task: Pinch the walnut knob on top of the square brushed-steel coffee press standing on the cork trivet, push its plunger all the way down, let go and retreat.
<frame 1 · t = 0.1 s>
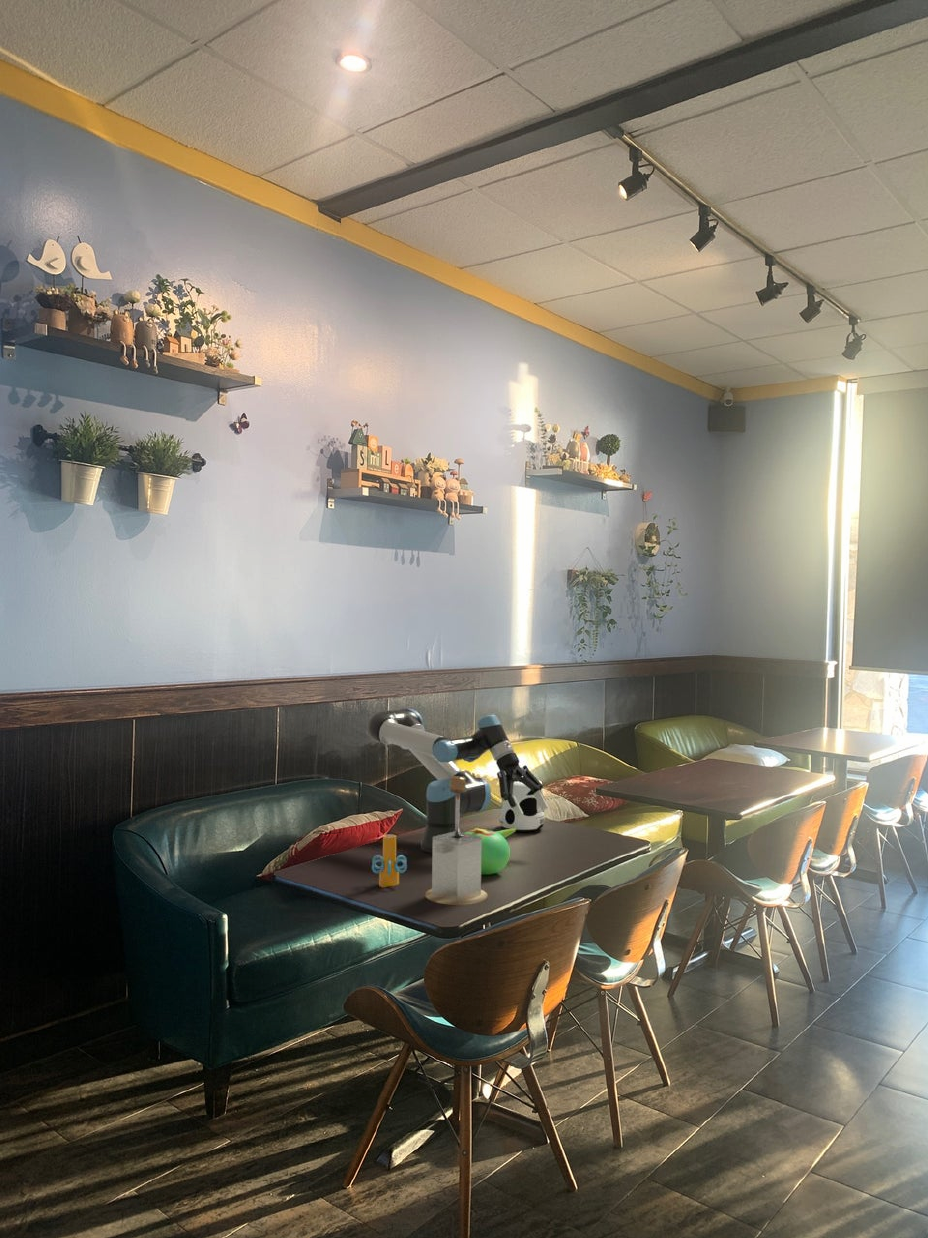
hand: (532, 812, 316), 15 cm above the table, tool tilted 35°, fingers open, 13 cm apart
cylinder: (389, 886, 283), on the table
milk container: (521, 830, 356), on the table
toy bird: (482, 873, 297), on the table
trivet: (456, 897, 272), on the table
press: (456, 894, 272), resting on trivet
plunger: (457, 811, 272), point 25 cm above the table, slide at 0.0 cm
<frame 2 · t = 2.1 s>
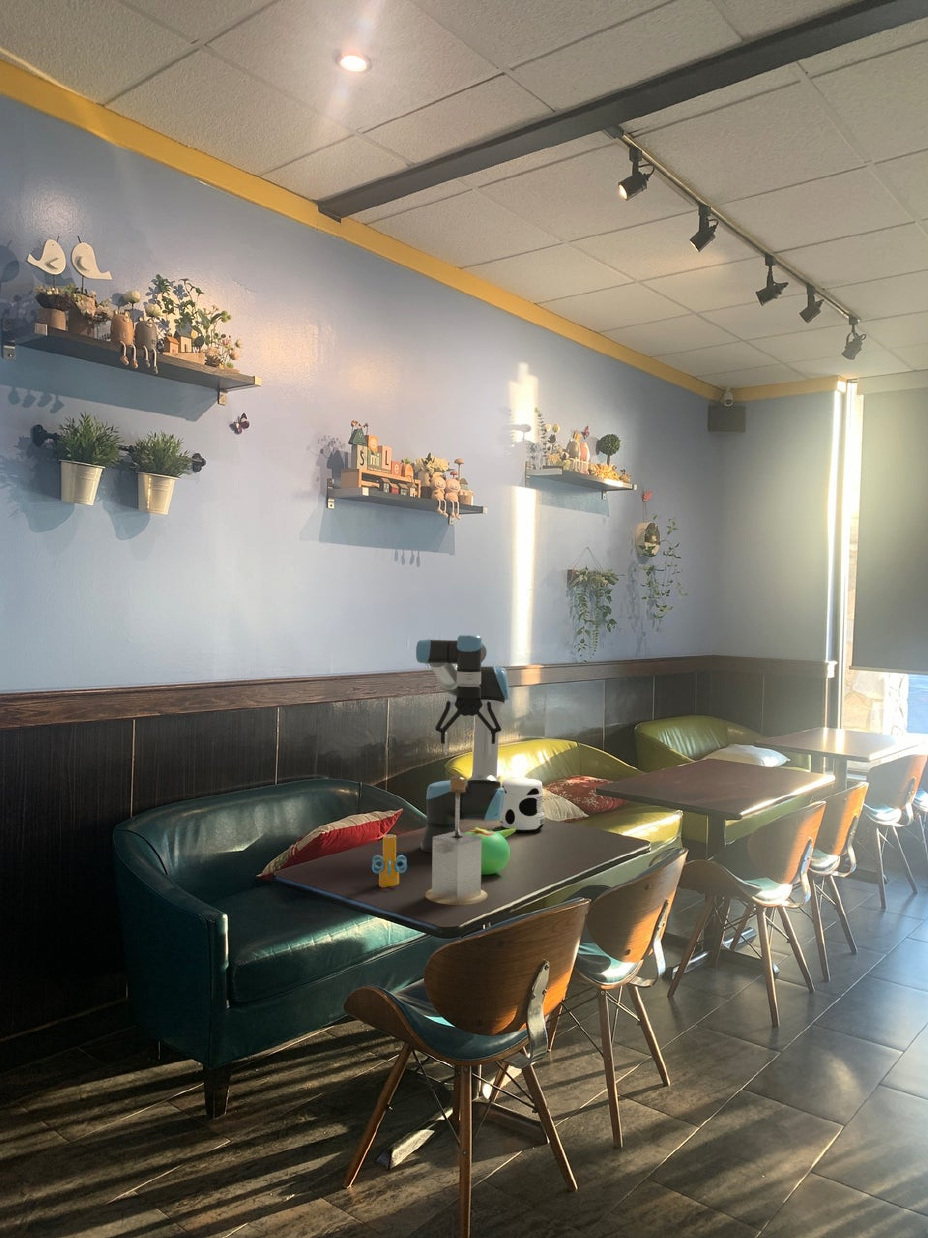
hand: (467, 754, 289), 39 cm above the table, tool pointing down, fingers open, 13 cm apart
nothing on the table moved.
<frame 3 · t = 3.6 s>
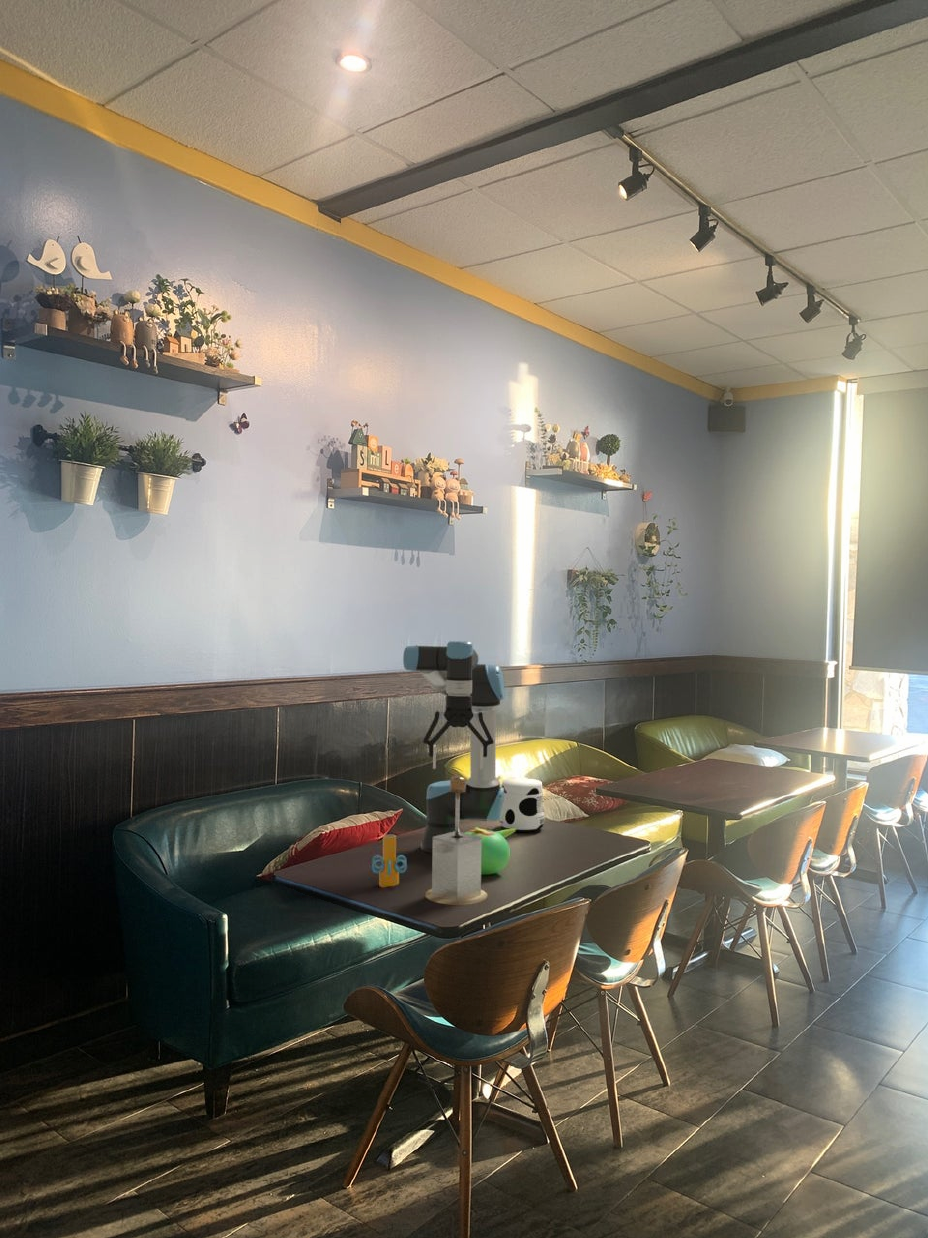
hand: (457, 768, 271), 38 cm above the table, tool pointing down, fingers open, 13 cm apart
nothing on the table moved.
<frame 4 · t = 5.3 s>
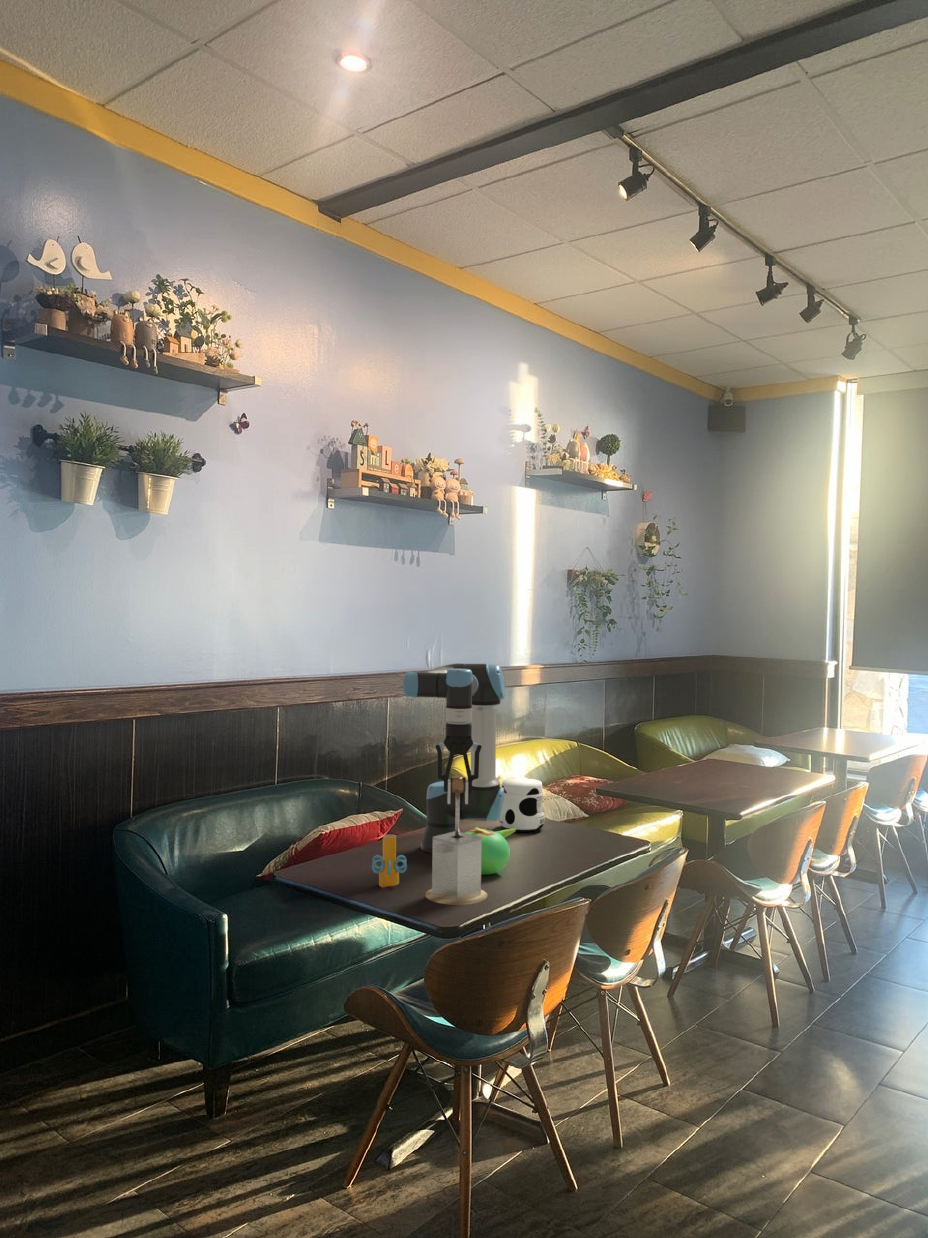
hand: (457, 802, 272), 27 cm above the table, tool pointing down, fingers closed on plunger, 4 cm apart
plunger: (457, 811, 272), point 25 cm above the table, slide at 0.0 cm, touching gripper
everything else where it was.
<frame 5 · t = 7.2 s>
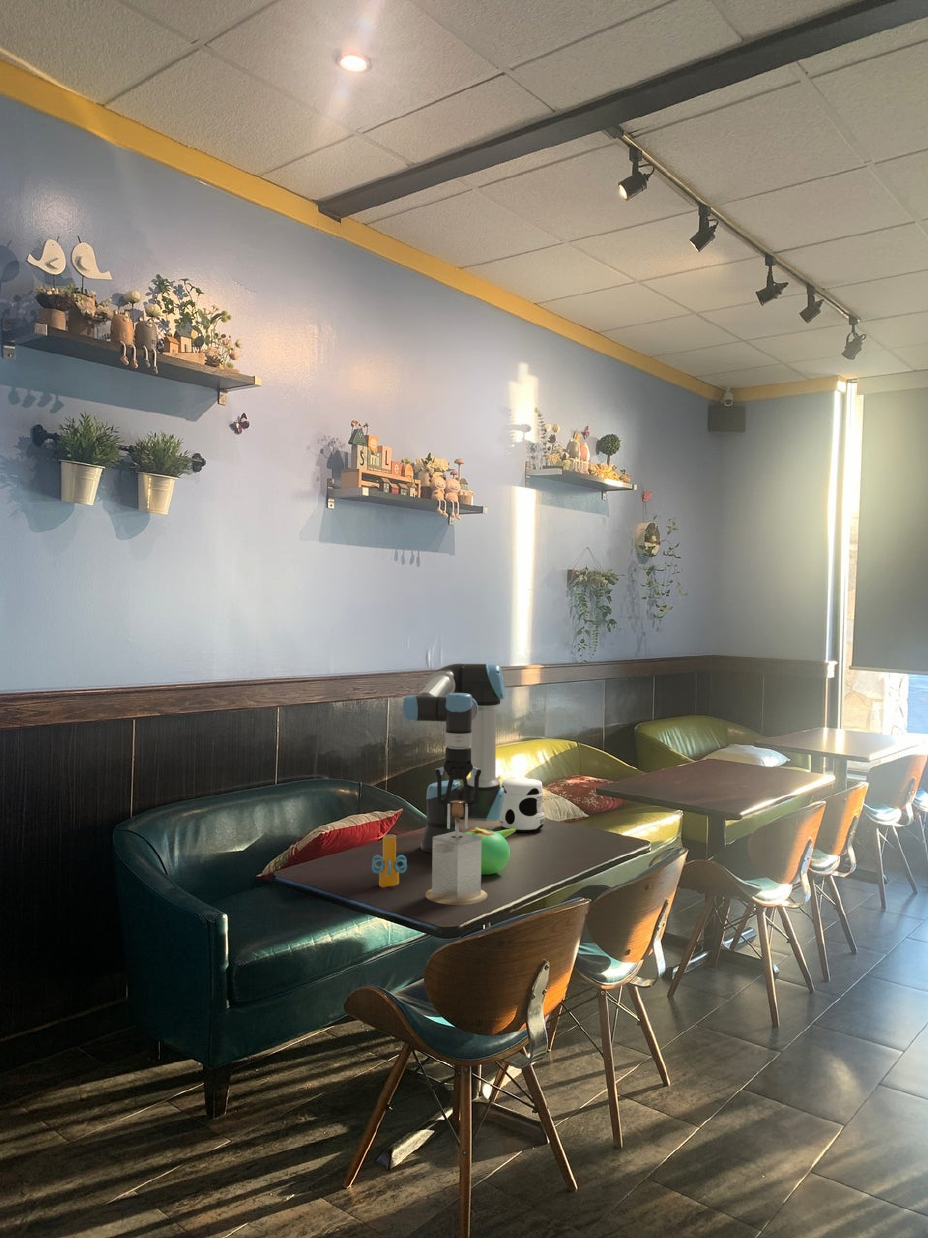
hand: (457, 827, 272), 20 cm above the table, tool pointing down, fingers closed on plunger, 4 cm apart
plunger: (457, 836, 272), point 18 cm above the table, slide at 7.1 cm, touching gripper
everything else where it was.
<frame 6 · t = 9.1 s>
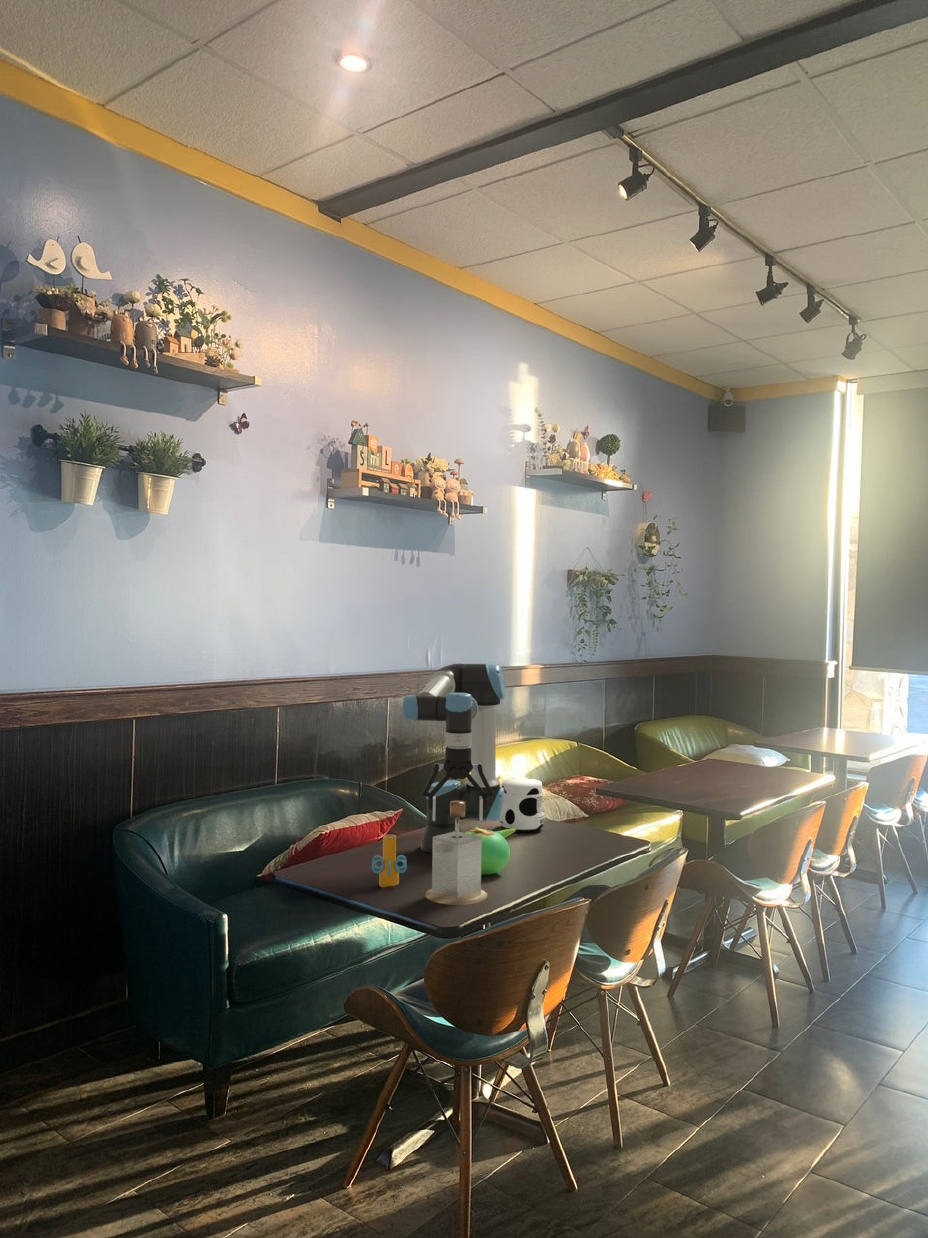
hand: (457, 820, 272), 22 cm above the table, tool pointing down, fingers open, 13 cm apart
plunger: (457, 836, 272), point 18 cm above the table, slide at 7.1 cm
everything else where it was.
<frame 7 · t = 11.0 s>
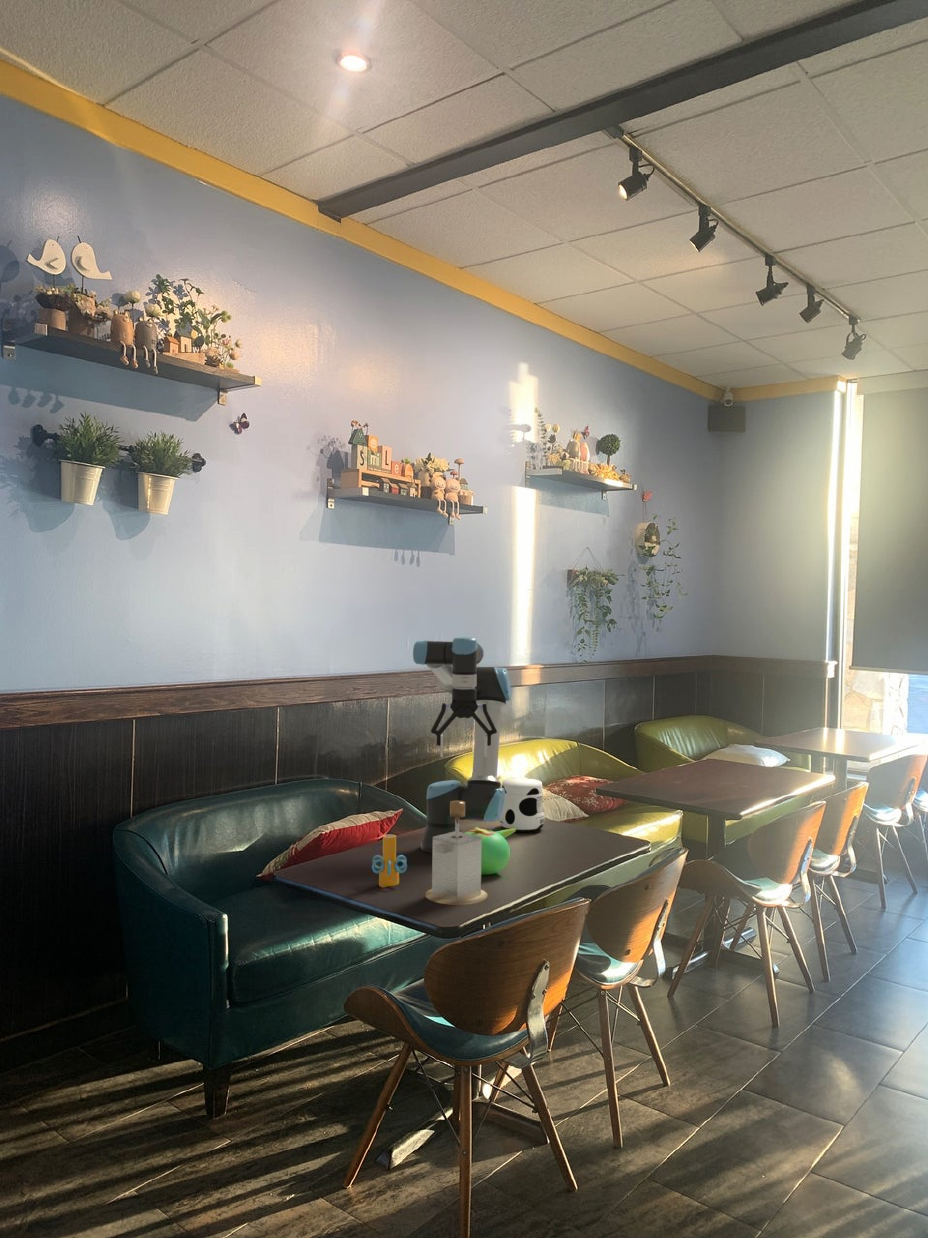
hand: (463, 756, 290), 38 cm above the table, tool pointing down, fingers open, 13 cm apart
nothing on the table moved.
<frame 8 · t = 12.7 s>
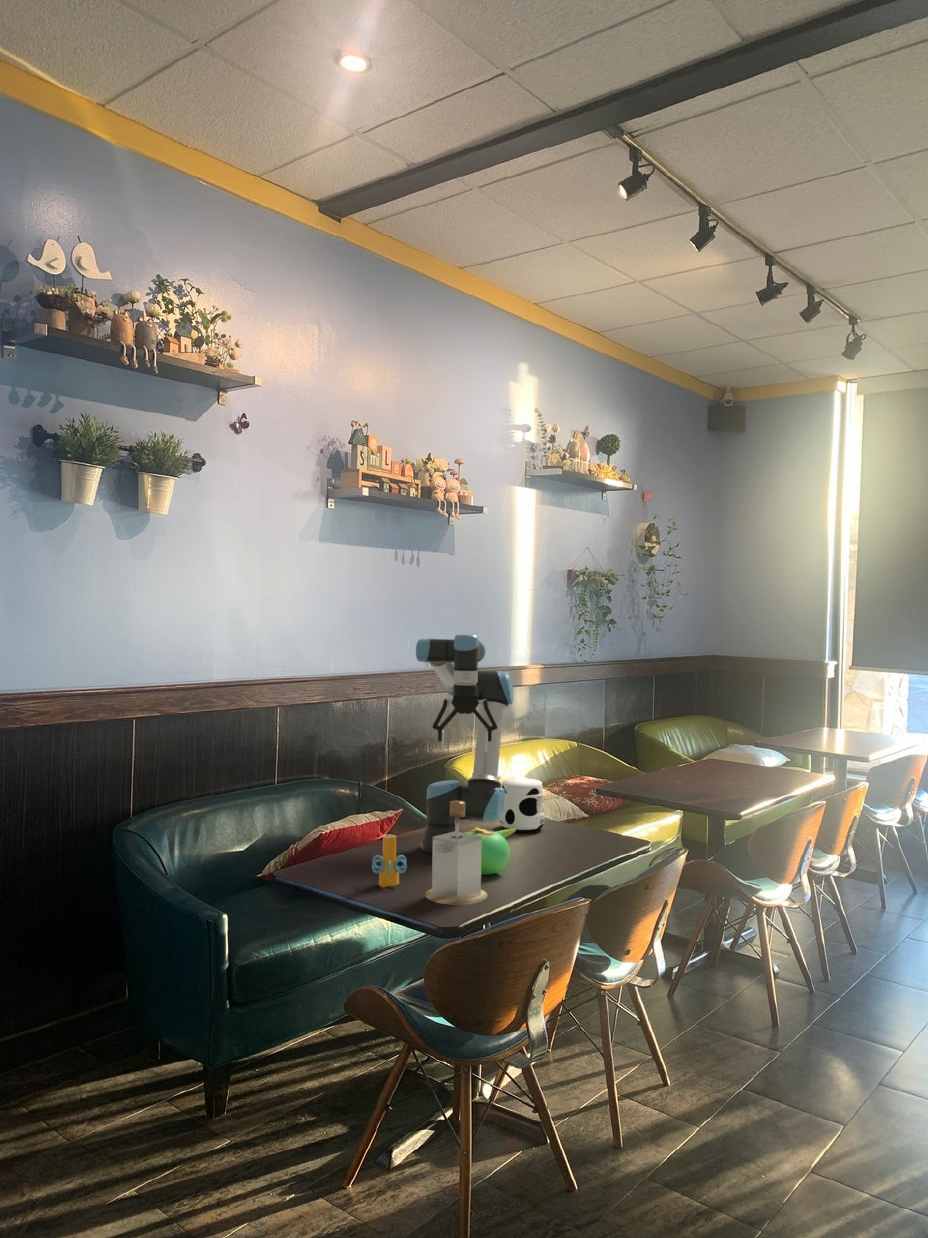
hand: (464, 751, 294), 39 cm above the table, tool pointing down, fingers open, 13 cm apart
nothing on the table moved.
at the end: plunger slide at 7.1 cm; the gripper is holding nothing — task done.
